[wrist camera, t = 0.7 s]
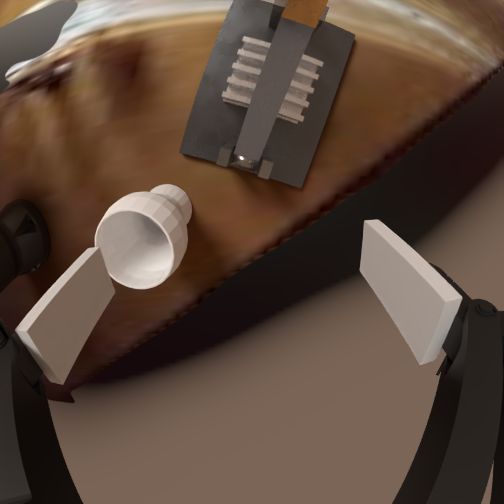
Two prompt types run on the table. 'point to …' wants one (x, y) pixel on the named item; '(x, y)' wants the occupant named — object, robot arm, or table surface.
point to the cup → (145, 236)
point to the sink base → (243, 85)
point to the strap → (276, 78)
